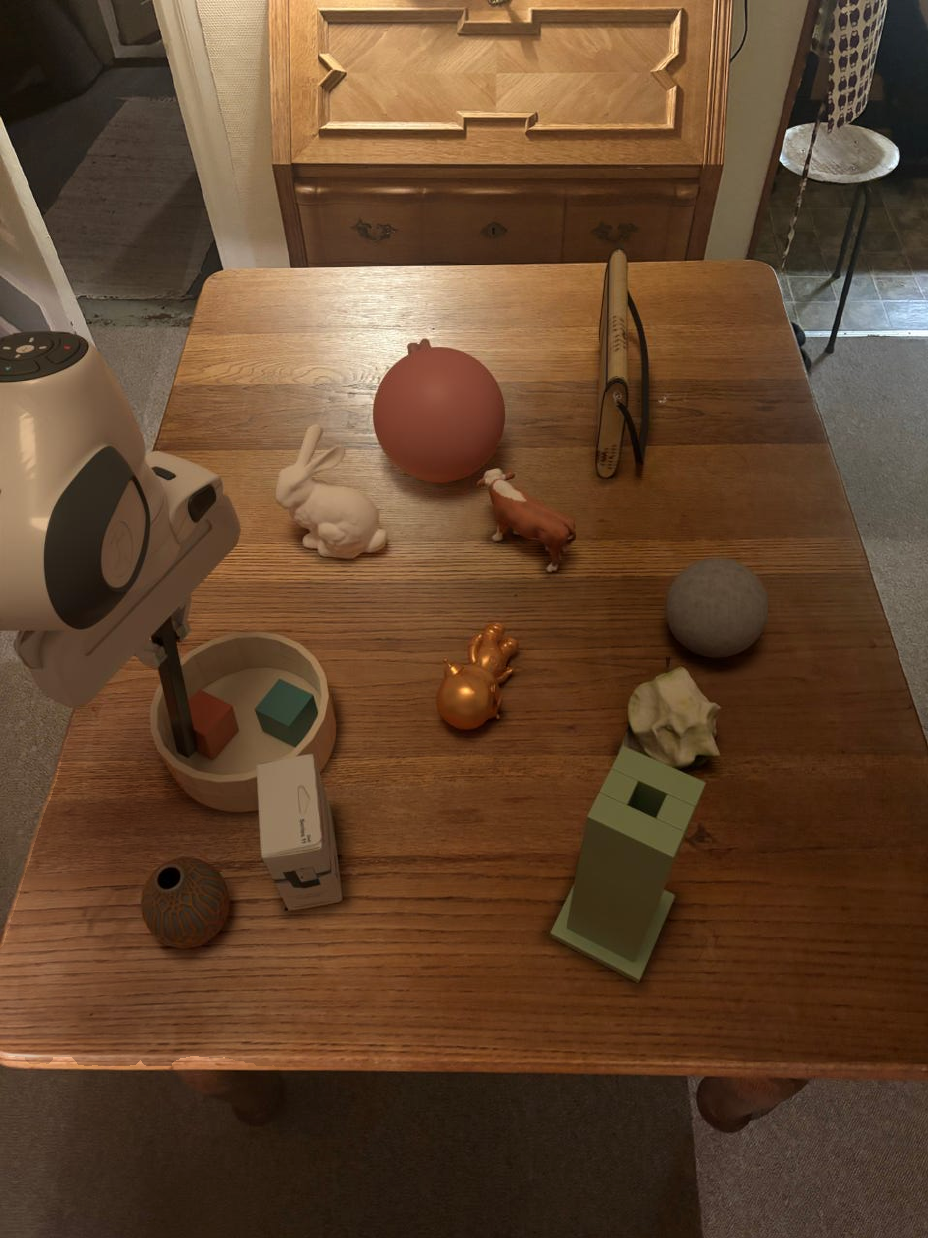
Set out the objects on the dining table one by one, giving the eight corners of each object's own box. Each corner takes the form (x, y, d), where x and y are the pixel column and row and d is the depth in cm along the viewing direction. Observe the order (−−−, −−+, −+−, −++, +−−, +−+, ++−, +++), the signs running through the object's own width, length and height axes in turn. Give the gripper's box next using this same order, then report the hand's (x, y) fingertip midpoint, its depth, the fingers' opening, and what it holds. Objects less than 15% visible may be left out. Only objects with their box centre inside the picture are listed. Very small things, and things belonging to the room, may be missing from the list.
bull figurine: (492, 505, 108) (492, 452, 102) (580, 562, 102) (586, 511, 96) (466, 524, 106) (465, 472, 100) (555, 584, 100) (559, 533, 94)
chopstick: (188, 759, 85) (156, 614, 73) (176, 752, 85) (143, 608, 73) (198, 749, 86) (169, 604, 74) (187, 743, 86) (156, 598, 74)
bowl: (271, 842, 82) (258, 812, 78) (131, 765, 88) (111, 733, 83) (369, 706, 91) (362, 672, 86) (236, 643, 96) (223, 608, 92)
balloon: (491, 396, 120) (491, 291, 108) (512, 503, 108) (515, 398, 96) (374, 406, 120) (362, 302, 108) (382, 515, 107) (369, 411, 95)
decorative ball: (736, 594, 99) (758, 531, 91) (769, 669, 93) (795, 608, 85) (647, 607, 98) (660, 544, 90) (674, 683, 92) (691, 623, 84)
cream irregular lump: (628, 698, 92) (649, 643, 87) (718, 732, 91) (745, 677, 85) (605, 764, 86) (626, 708, 80) (701, 801, 84) (729, 747, 79)
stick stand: (638, 984, 74) (683, 878, 57) (549, 937, 77) (566, 822, 59) (673, 899, 78) (725, 776, 61) (588, 857, 81) (614, 728, 64)
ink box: (280, 822, 84) (254, 758, 74) (334, 813, 84) (314, 748, 75) (286, 914, 78) (258, 858, 69) (343, 904, 79) (324, 846, 69)
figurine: (544, 658, 93) (506, 741, 85) (502, 675, 97) (462, 757, 89) (492, 599, 91) (448, 678, 82) (452, 619, 95) (405, 697, 86)
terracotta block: (212, 760, 86) (204, 735, 84) (180, 742, 88) (171, 718, 85) (239, 730, 89) (232, 705, 86) (207, 713, 90) (199, 688, 87)
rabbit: (279, 547, 105) (258, 469, 95) (316, 493, 110) (300, 414, 100) (375, 575, 102) (363, 498, 92) (408, 518, 107) (400, 439, 98)
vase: (142, 947, 77) (107, 909, 70) (177, 871, 81) (147, 828, 74) (218, 967, 76) (190, 930, 69) (249, 888, 80) (226, 846, 73)
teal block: (296, 748, 87) (288, 726, 84) (262, 731, 89) (254, 709, 86) (319, 716, 90) (313, 694, 86) (286, 700, 91) (279, 678, 88)
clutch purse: (651, 491, 109) (670, 389, 97) (592, 488, 109) (604, 386, 98) (647, 341, 127) (663, 240, 115) (596, 339, 127) (607, 238, 116)
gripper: (40, 655, 59) (110, 759, 70) (234, 463, 70) (269, 579, 81) (-29, 619, 61) (50, 726, 72) (170, 438, 72) (212, 555, 83)
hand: (167, 647), depth 77 cm, fingers closed on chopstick
